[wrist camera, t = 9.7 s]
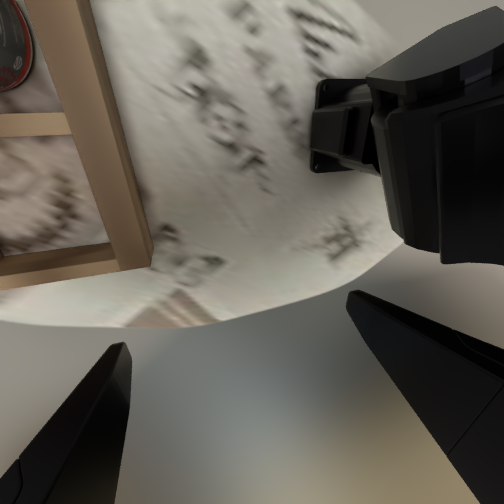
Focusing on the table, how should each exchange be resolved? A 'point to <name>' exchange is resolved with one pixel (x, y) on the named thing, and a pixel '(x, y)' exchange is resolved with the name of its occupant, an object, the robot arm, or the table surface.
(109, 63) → the table surface
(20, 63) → the pill bottle
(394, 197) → the robot arm
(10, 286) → the wooden divided tray
